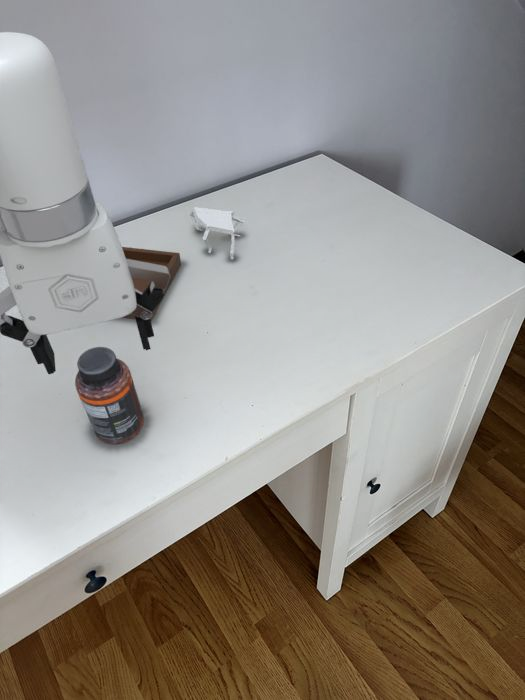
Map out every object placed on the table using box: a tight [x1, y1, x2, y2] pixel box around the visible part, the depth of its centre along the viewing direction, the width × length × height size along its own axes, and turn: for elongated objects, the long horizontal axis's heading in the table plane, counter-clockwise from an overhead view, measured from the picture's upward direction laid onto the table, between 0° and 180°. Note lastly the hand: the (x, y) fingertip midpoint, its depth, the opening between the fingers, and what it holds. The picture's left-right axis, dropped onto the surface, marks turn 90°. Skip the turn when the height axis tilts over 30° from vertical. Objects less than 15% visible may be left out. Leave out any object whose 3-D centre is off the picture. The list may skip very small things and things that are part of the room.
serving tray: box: [122, 246, 182, 322], centre depth 85 cm, size 17×14×2 cm
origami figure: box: [189, 206, 245, 260], centre depth 92 cm, size 12×8×5 cm
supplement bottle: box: [74, 346, 145, 445], centre depth 63 cm, size 6×6×11 cm
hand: (99, 352), depth 58 cm, fingers open, 9 cm apart
